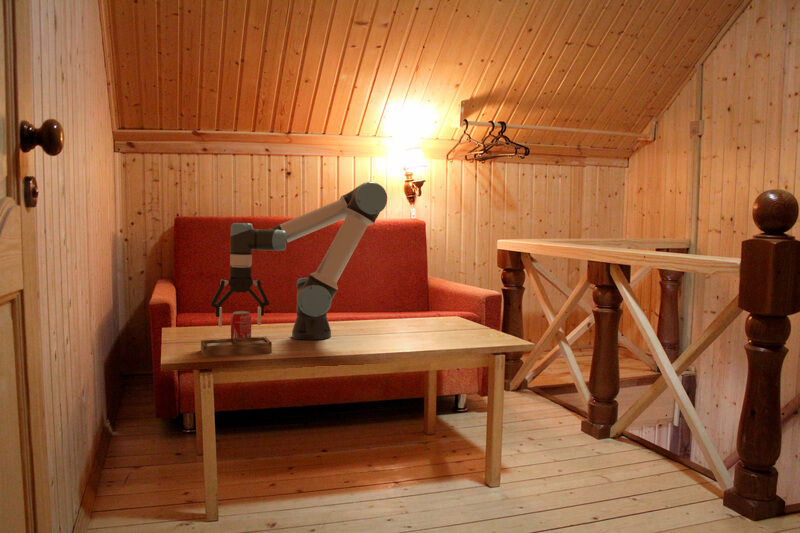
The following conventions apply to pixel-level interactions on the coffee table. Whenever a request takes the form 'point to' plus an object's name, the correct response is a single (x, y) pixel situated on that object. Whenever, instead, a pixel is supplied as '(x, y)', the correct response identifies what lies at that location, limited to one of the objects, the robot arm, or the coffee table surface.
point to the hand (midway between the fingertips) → (239, 325)
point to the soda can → (241, 325)
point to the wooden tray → (235, 346)
